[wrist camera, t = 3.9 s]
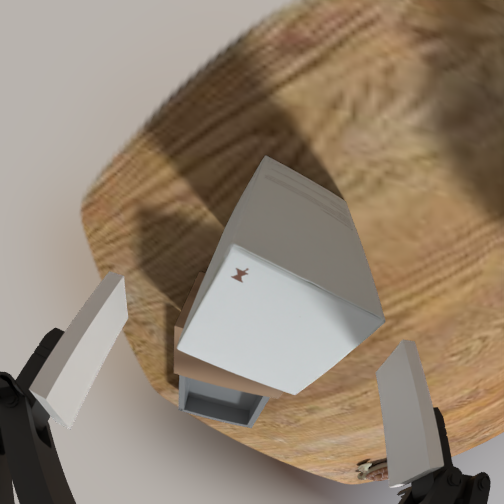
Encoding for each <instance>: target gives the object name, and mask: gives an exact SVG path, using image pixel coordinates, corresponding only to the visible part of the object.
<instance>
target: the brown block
mask: <svg viewBox="0 0 504 504" xmlns="http://www.w3.org/2000/svg"><path fill="white" fill-rule="evenodd" d="M205 274H206V273H203V272H199V273H198V276H197V278H196V280H195V282H194V284H193V286H192V288H191V291H190V293H189V295H188V297H187V299H186V302H185V304H184V306H183V308H182V310H181V313H180V315H179V317H178V319H177V321H176V324H175V327H174V373H175V374H178V375H181V376H185V377H188V378H191V379H195V380H198V381H202V382H206V383H210V384H213V385H217V386H221V387H225V388H229V389H234V390H238V391H242V392H247V393H251V394H256V395H261V396H266V397H271V398H277V399H279V398H280V396H281V394H282V393H283V391H281V390H278V389H276V388H273V387H270V386H267V385H264V384H261V383H259V382H256V381H253V380H250V379H248V378H245V377H243V376H240V375H237V374H235V373H232V372H230V371H227V370H225V369H222V368H220V367H217V366H215V365H212V364H210V363H208V362H205V361H203V360H200V359H198V358H196V357H193V356H191V355H189V354H186V353H184V352H182V351H180V350H178V349H177V345H178V341H179V339H180V336H181V333H182V331H183V328H184V325H185V323H186V320H187V318H188V315H189V313H190V310H191V308H192V305H193V303H194V300H195V298H196V295H197V293H198V290H199V288H200V286H201V283H202V281H203V279H204V276H205Z"/></svg>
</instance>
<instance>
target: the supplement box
mask: <svg viewBox="0 0 504 504" xmlns="http://www.w3.org/2000/svg"><path fill="white" fill-rule="evenodd" d="M384 323H385V317H384V314H383V311H382V307H381V303H380V300H379V296H378V293H377V290H376V287H375V283H374V280H373V277H372V274H371V271H370V268H369V265H368V261H367V259H366V256H365V253H364V250H363V247H362V244H361V241H360V238H359V236H358V233H357V230H356V227H355V225H354V222H353V219H352V217H351V214H350V211H349V209H348V206H347V203H346V201H344V200H343V199H341V198H340V197H338V196H337V195H335V194H333V193H332V192H330V191H329V190H327V189H325V188H324V187H322V186H320V185H318V184H317V183H315V182H313V181H312V180H310V179H308V178H306V177H305V176H303V175H301V174H299V173H298V172H296V171H294V170H292V169H290V168H289V167H287V166H285V165H283V164H281V163H279V162H277V161H276V160H274V159H272V158H270V157H268V156H264V158H263V160H262V161H261V163H260V165H259V166H258V168H257V170H256V171H255V173H254V175H253V177H252V178H251V180H250V182H249V183H248V185H247V187H246V189H245V190H244V192H243V194H242V196H241V198H240V200H239V201H238V203H237V205H236V207H235V209H234V211H233V213H232V215H231V217H230V219H229V221H228V223H227V225H226V227H225V229H224V232H223V234H222V236H221V239H220V241H219V243H218V246H217V248H216V251H215V253H214V255H213V257H212V260H211V262H210V265H209V267H208V269H207V272H206V274H205V276H204V279H203V281H202V283H201V286H200V288H199V290H198V293H197V295H196V298H195V300H194V303H193V305H192V308H191V310H190V313H189V315H188V318H187V320H186V323H185V325H184V328H183V331H182V333H181V336H180V339H179V341H178V345H177V349H178V350H180V351H182V352H184V353H186V354H189V355H191V356H193V357H196V358H198V359H200V360H203V361H205V362H208V363H210V364H212V365H215V366H217V367H220V368H222V369H225V370H227V371H230V372H232V373H235V374H237V375H240V376H243V377H245V378H248V379H250V380H253V381H256V382H259V383H261V384H264V385H267V386H270V387H273V388H276V389H278V390H281V391H284V392H287V393H290V394H293V395H296V394H297V393H299V392H300V391H301V390H303V389H304V388H306V387H307V386H308V385H310V384H311V383H312V382H314V381H315V380H316V379H317V378H319V377H320V376H321V375H323V374H324V373H325V372H327V371H328V370H329V369H330V368H332V367H333V366H334V365H335V364H337V363H338V362H339V361H340V360H341V359H342V358H344V357H345V356H346V355H347V354H348V353H349V352H351V351H352V350H353V349H354V348H356V347H357V346H358V345H359V344H361V343H362V342H363V341H364V340H365V339H366V338H368V337H369V336H370V335H371V334H372V333H373V332H375V331H376V330H377V329H378V328H379V327H380V326H381V325H383V324H384Z"/></svg>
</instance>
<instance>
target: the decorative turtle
mask: <svg viewBox="0 0 504 504" xmlns="http://www.w3.org/2000/svg"><path fill="white" fill-rule="evenodd" d="M371 465H372V463H371V462H368V463H365V464H362V465H360V466H358V469H359V471H361V473H359V474H358V479H360V480H365V479H369V480H374V481H382V480H386V479H388V465H387V462H384V463H380V464H378V465H375V466H373V467H371V468H369V467H370V466H371ZM368 468H369V469H368Z"/></svg>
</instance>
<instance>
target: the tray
mask: <svg viewBox="0 0 504 504" xmlns="http://www.w3.org/2000/svg"><path fill="white" fill-rule="evenodd" d="M269 398H270V397H266V396H261V395H256V394H251V393H247V392H242V391H238V390H234V389H229V388H225V387H221V386H217V385H213V384H210V383H206V382H202V381H198V380H195V379H191V378H188V377H185V376H181V375H179V410H180V411H183V412H187V413H190V414H194V415H198V416H201V417H205V418H209V419H213V420H217V421H221V422H225V423H230V424H234V425H239V426H244V427H249V428H252V426H253V425H254V423H255V421H256V420H257V418H258V416H259V415H260V413H261V411H262V410H263V408H264V406H265V405H266V403H267V401H268V400H269Z"/></svg>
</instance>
